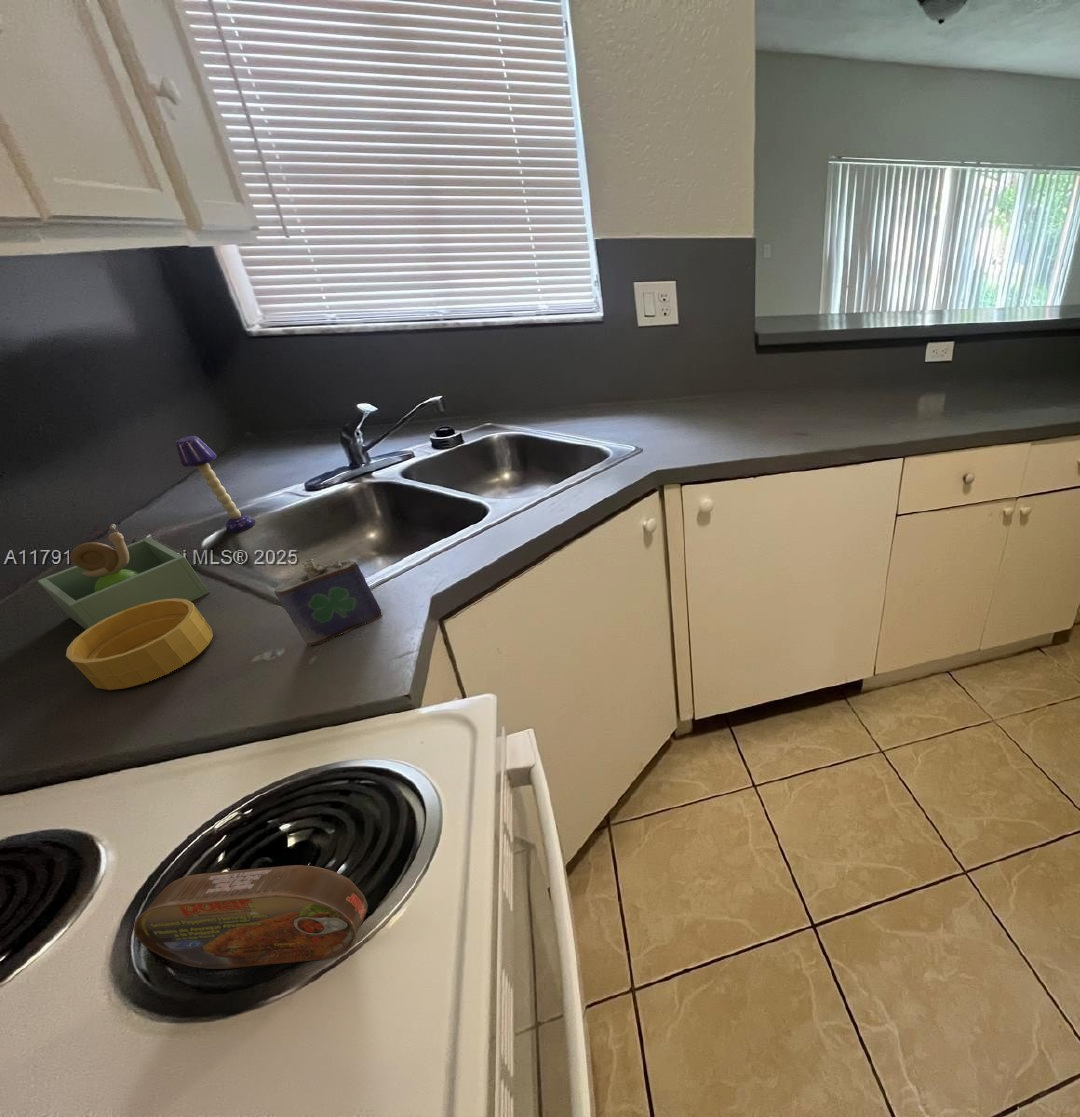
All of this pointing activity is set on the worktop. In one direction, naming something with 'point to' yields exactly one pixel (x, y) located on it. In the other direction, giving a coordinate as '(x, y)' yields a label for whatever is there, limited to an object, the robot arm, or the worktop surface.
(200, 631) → the bowl
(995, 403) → the worktop surface
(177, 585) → the bin
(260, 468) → the worktop surface
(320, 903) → the tin
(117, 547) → the snail figurine
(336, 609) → the clover box
